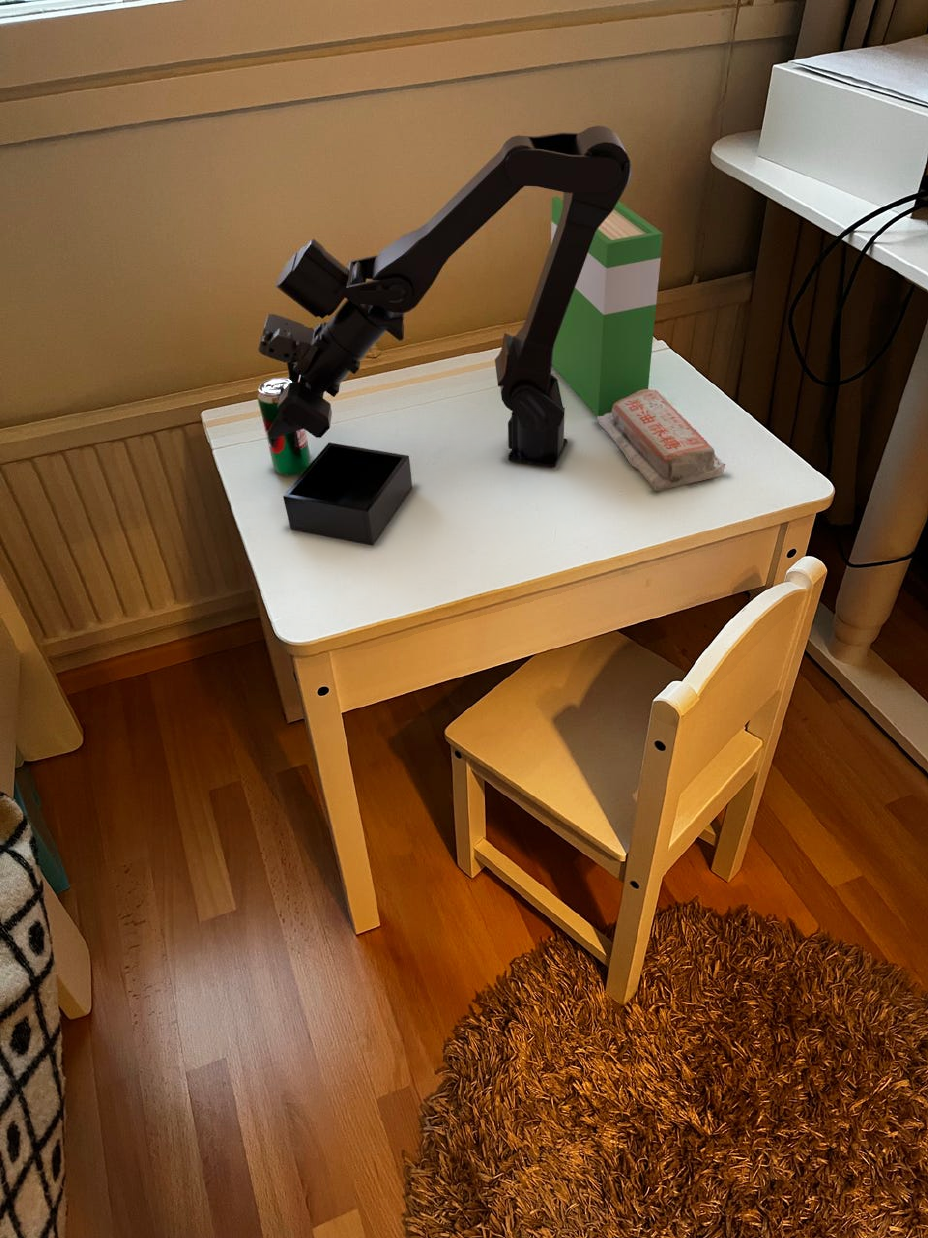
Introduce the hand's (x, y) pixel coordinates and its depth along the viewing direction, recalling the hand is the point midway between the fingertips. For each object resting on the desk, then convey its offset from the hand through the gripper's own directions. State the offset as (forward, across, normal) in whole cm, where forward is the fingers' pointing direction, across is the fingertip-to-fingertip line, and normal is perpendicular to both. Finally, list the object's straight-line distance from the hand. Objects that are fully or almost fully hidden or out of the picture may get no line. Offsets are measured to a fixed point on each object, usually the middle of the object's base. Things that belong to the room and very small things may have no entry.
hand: (273, 424), depth 117 cm
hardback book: (-26, -17, +36) cm, 48 cm away
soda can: (+4, 0, +6) cm, 7 cm away
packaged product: (-30, +1, +40) cm, 50 cm away
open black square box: (-2, +10, +12) cm, 16 cm away
